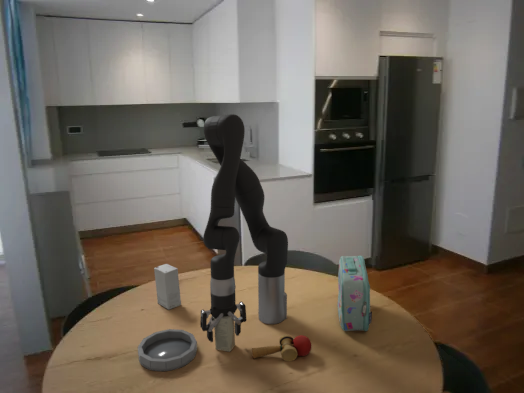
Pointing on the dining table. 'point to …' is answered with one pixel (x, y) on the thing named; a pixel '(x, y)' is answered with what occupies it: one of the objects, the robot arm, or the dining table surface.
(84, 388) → the dining table surface
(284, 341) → the kendama
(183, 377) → the dining table surface
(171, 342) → the round tray
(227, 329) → the box
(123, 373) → the dining table surface
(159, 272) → the skincare box
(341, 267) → the lunch box
